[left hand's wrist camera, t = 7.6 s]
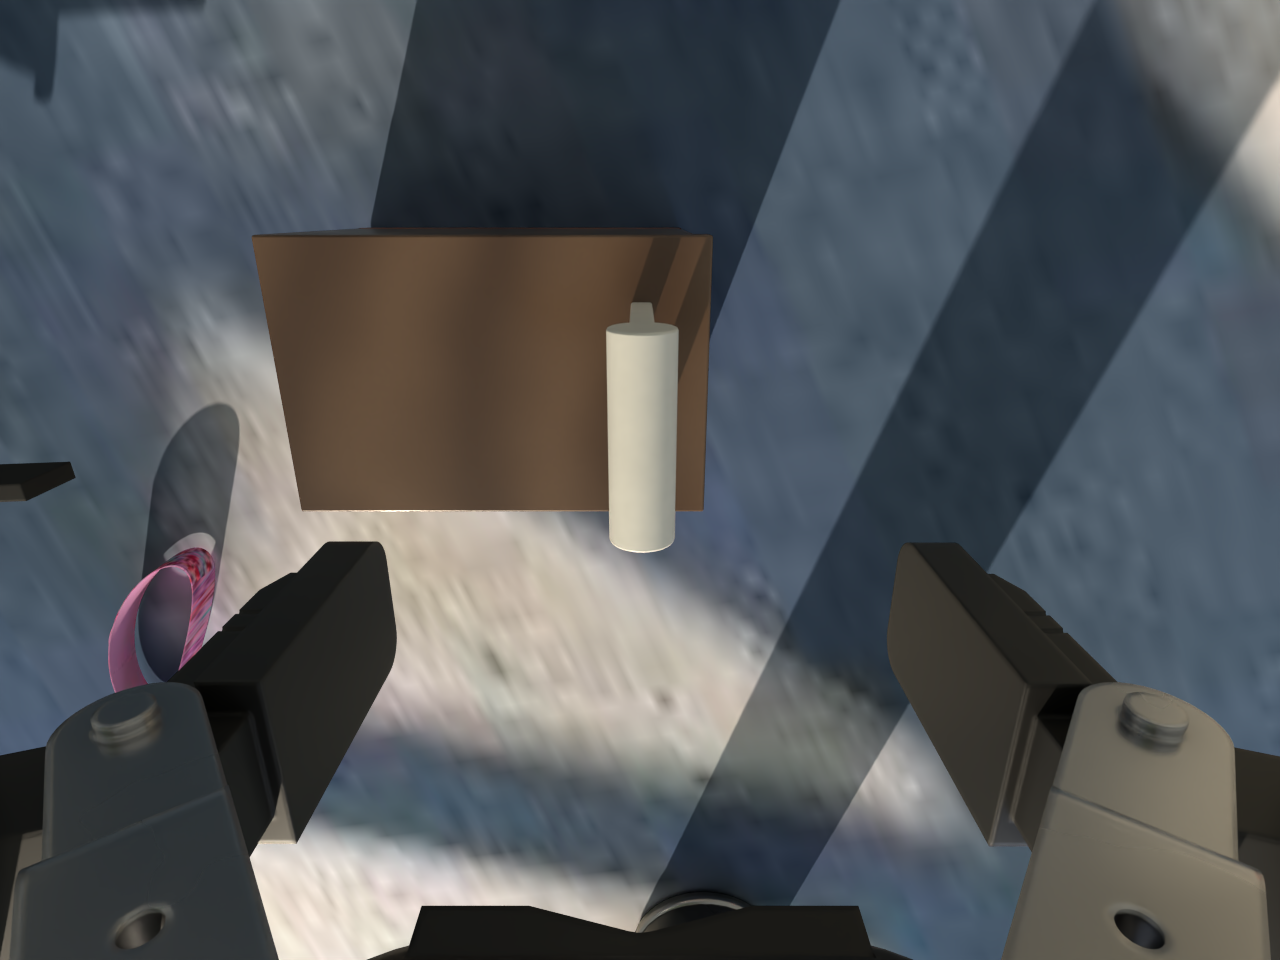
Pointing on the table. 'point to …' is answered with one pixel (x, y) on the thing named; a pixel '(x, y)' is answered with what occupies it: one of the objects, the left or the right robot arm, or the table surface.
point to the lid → (495, 372)
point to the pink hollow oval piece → (122, 633)
